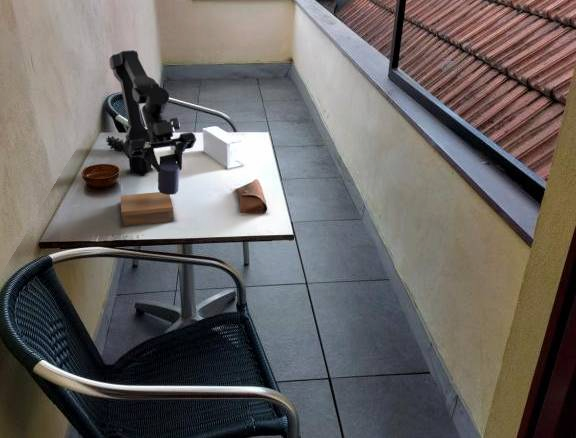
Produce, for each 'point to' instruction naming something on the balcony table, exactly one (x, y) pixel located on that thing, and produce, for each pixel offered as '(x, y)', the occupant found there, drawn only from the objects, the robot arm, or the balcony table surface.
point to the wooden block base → (146, 208)
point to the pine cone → (116, 144)
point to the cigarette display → (220, 146)
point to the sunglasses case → (251, 198)
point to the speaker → (168, 174)
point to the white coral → (173, 146)
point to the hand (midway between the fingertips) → (170, 171)
